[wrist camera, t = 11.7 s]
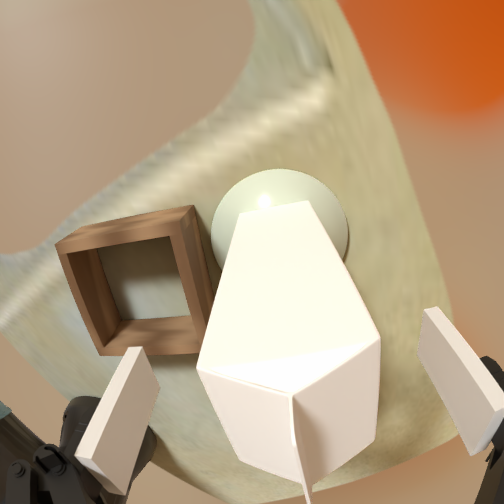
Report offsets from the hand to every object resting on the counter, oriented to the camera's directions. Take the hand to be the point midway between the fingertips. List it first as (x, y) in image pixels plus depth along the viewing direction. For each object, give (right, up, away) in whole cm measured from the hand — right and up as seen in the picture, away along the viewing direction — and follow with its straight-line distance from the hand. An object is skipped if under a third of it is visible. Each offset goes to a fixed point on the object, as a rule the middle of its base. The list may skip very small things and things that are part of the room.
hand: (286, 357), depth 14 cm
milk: (+1, +6, +14) cm, 16 cm away
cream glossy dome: (+1, +6, +15) cm, 16 cm away
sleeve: (-12, +3, +17) cm, 20 cm away
